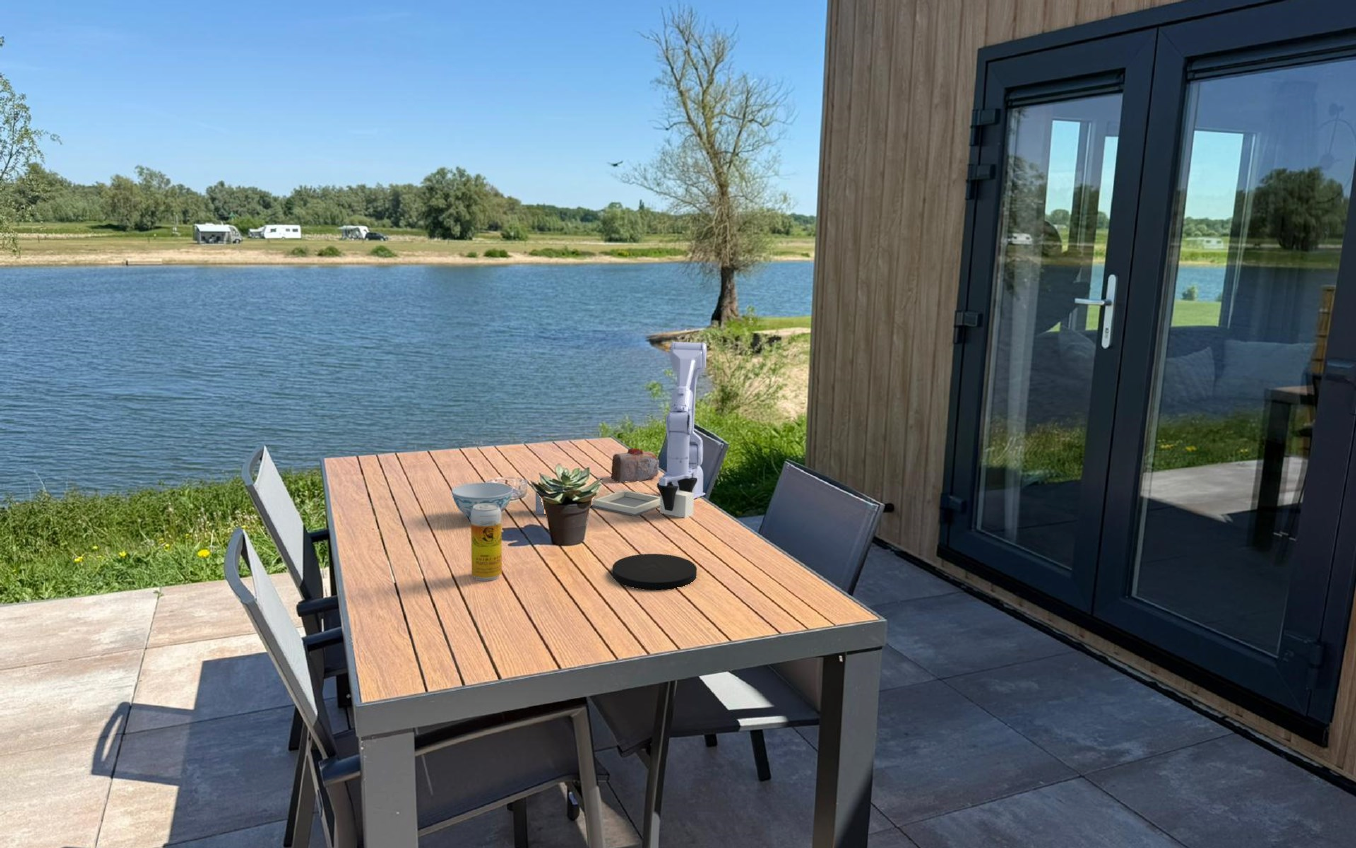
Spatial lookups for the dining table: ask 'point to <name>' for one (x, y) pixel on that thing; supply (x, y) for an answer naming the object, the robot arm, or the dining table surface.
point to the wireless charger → (654, 571)
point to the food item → (634, 466)
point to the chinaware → (481, 496)
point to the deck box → (680, 504)
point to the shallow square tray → (627, 502)
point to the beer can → (486, 541)
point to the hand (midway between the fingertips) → (676, 507)
